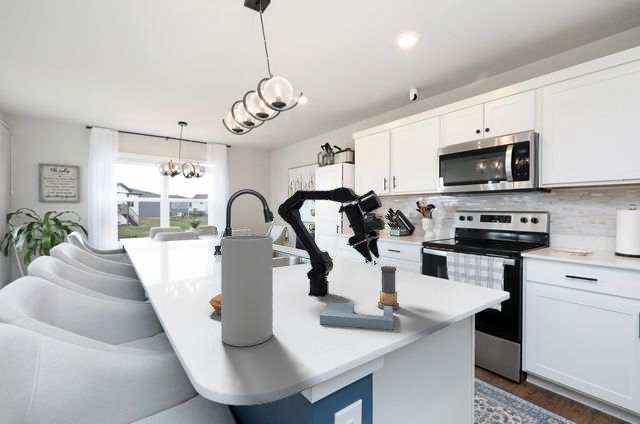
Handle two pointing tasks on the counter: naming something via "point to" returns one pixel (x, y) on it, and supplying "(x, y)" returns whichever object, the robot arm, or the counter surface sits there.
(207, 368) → the counter surface
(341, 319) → the notched board
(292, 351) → the counter surface
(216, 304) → the pie
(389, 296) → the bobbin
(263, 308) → the cylinder vase
